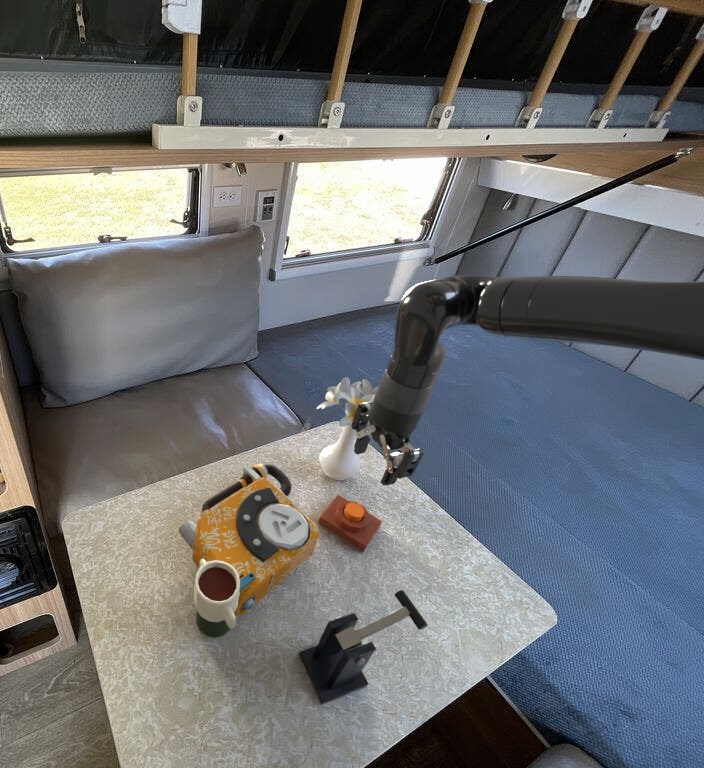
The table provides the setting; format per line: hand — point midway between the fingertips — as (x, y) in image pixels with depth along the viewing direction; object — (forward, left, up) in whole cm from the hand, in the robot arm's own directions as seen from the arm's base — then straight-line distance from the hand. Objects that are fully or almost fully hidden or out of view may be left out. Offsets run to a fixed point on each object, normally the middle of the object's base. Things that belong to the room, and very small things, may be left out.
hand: (372, 467), depth 75 cm
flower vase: (+9, -13, -18) cm, 24 cm away
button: (0, 0, -15) cm, 15 cm away
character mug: (+9, +34, -18) cm, 40 cm away
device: (+13, +17, -18) cm, 28 cm away
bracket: (-10, +27, -18) cm, 34 cm away
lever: (-12, +23, -7) cm, 27 cm away
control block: (0, 0, -18) cm, 18 cm away
